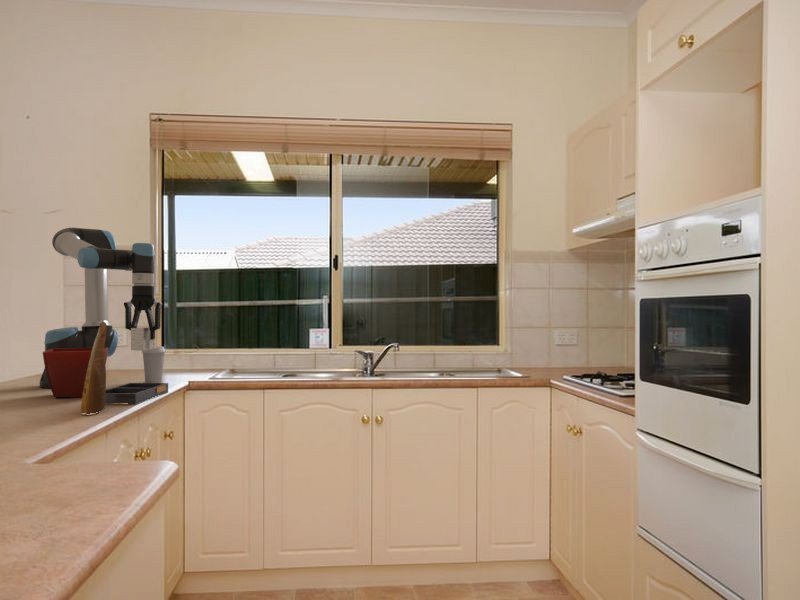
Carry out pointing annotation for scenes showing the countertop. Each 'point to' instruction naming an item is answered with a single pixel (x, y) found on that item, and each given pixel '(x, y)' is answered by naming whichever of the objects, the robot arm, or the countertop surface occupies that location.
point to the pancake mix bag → (95, 376)
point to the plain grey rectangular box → (140, 339)
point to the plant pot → (67, 370)
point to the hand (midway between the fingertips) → (142, 348)
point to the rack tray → (135, 392)
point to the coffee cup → (153, 364)
